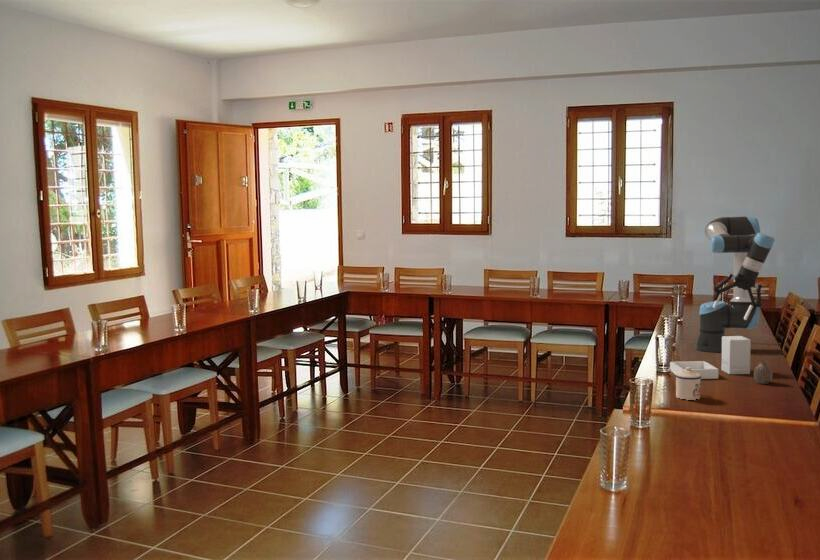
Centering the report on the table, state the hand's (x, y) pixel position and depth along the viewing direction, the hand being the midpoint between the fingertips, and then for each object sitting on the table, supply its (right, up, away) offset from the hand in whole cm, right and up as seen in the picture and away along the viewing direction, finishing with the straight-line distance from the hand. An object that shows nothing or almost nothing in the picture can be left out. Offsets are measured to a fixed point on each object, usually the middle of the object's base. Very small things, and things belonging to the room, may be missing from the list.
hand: (729, 313), depth 321 cm
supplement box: (+1, -25, -3) cm, 25 cm away
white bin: (-18, -26, -6) cm, 32 cm away
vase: (+4, -27, -22) cm, 35 cm away
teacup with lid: (-32, -30, -39) cm, 59 cm away
